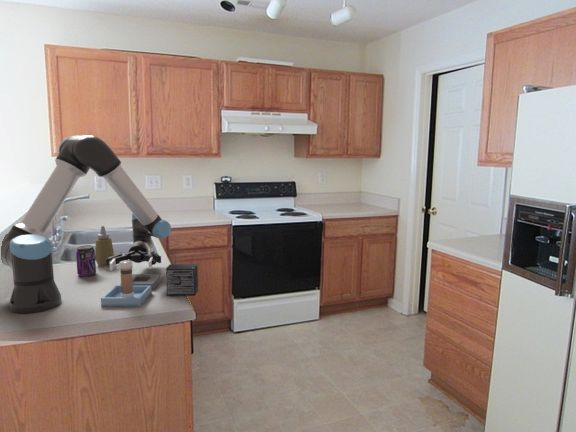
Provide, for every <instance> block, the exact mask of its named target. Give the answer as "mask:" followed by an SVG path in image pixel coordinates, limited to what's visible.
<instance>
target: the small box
mask: <svg viewBox="0 0 576 432" xmlns="http://www.w3.org/2000/svg"><path fill="white" fill-rule="evenodd" d="M165 272H166V273H165V274H166V296H167V297H185V296H186V297H188V296H189V297H195V296H196V295H197V294H198V291H199V276H198V264H197V263H190V264H189V263H187V264H186V263H185V264H184V263H183V264H181V263H179V264H177V263H173V264H171V263H170V264H168V265H167V267H166V268H165Z"/></svg>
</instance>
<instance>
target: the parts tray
mask: <svg viewBox="0 0 576 432" xmlns="http://www.w3.org/2000/svg"><path fill="white" fill-rule="evenodd" d="M133 291H134V297H121V285H115V286H113V287H112V288H111V289H110V290H108V291H107V292H106V293H105V294H104V295H103V296H101V298H100V304H101V305H100V307H101V308H102V307H104V308H105V307H106V308H109V307H110V308H111V307H113V308H117V307H119V308H122V307H124V308H126V307H128V308H132V307H133V308H134V307H135V308H137V307H138V308H141V306H142V305H144V303H145V302H146V301H147V299H148V298H149V297H150V296H151V295H152V290H151V286H133Z"/></svg>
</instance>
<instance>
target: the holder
mask: <svg viewBox="0 0 576 432" xmlns="http://www.w3.org/2000/svg"><path fill="white" fill-rule="evenodd" d="M132 281H133V286H151V291H153V290H155V288H157V286H158V285H159V283H160V282H162V274H160V273H159V274H155V273H153V274H148V273H147V274H145V273H143V274H141V273H140V274H139V273H138V274H137V273H136V274H133V273H132ZM119 286H121V283H120V284H119Z"/></svg>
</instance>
